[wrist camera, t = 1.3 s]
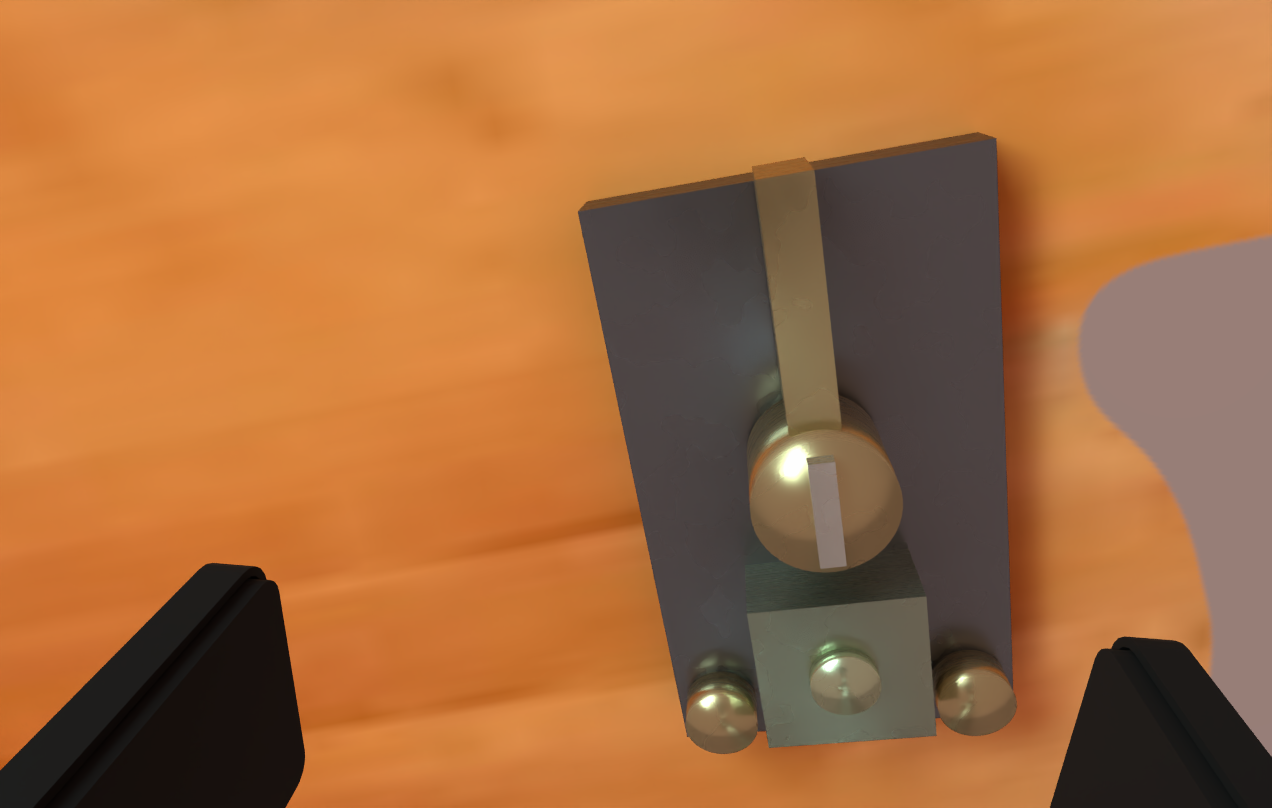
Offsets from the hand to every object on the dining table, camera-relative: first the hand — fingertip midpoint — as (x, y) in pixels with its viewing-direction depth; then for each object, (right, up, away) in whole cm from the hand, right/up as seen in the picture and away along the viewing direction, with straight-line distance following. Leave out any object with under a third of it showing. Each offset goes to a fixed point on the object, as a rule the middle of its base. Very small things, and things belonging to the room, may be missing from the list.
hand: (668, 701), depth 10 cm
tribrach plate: (+6, +1, +23) cm, 24 cm away
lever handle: (+5, +5, +19) cm, 20 cm away
